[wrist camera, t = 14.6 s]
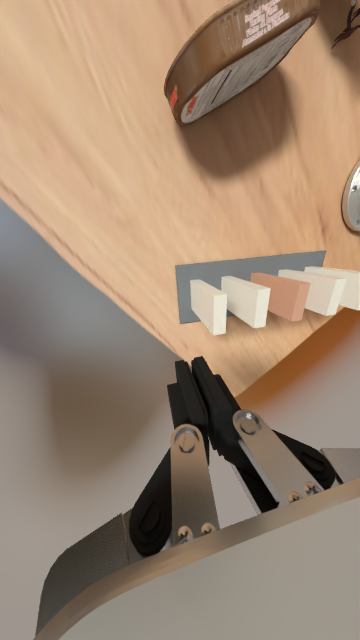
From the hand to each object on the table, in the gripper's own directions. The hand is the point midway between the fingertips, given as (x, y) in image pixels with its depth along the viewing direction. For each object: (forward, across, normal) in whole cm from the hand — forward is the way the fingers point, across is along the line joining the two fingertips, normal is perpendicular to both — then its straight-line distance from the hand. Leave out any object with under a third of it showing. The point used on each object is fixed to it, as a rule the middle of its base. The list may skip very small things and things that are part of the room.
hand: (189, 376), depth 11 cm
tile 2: (+19, -12, 0) cm, 22 cm away
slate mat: (+19, -17, 0) cm, 26 cm away
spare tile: (+19, -17, 0) cm, 25 cm away
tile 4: (+19, -22, 0) cm, 29 cm away
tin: (+19, -10, -24) cm, 32 cm away
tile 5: (+19, -28, 0) cm, 34 cm away
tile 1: (+19, -6, 0) cm, 20 cm away
